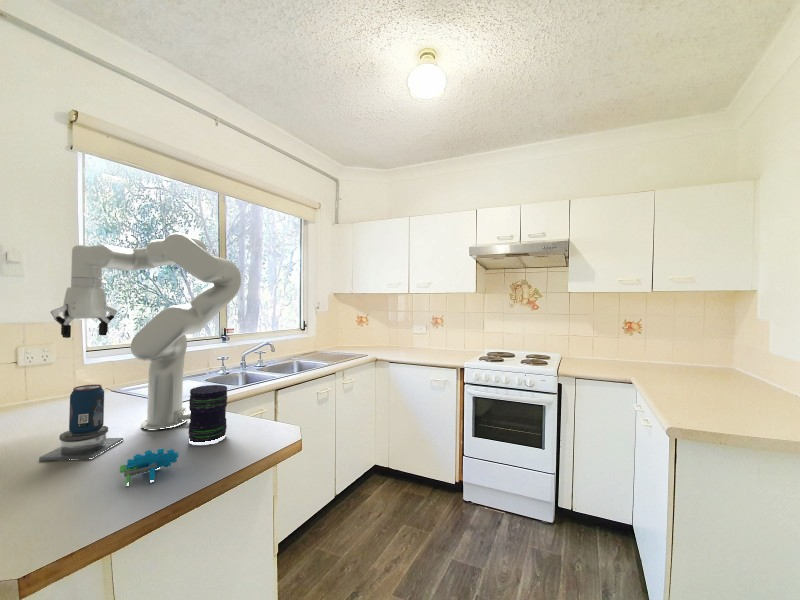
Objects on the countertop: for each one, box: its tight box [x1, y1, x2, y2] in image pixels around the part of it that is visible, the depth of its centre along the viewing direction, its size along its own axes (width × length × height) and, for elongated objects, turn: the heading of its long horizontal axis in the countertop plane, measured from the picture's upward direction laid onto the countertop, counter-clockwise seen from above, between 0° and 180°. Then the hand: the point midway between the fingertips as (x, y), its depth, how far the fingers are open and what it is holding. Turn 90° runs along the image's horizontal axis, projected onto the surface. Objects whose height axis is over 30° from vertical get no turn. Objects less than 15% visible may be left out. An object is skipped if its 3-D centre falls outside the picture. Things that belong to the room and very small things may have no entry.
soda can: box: [68, 384, 105, 435], centre depth 95 cm, size 7×7×12 cm
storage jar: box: [187, 384, 228, 442], centre depth 104 cm, size 10×10×15 cm
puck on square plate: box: [38, 425, 124, 462], centre depth 95 cm, size 12×12×5 cm
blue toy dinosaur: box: [119, 448, 179, 484], centre depth 80 cm, size 11×6×10 cm
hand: (85, 336), depth 115 cm, fingers open, 9 cm apart
